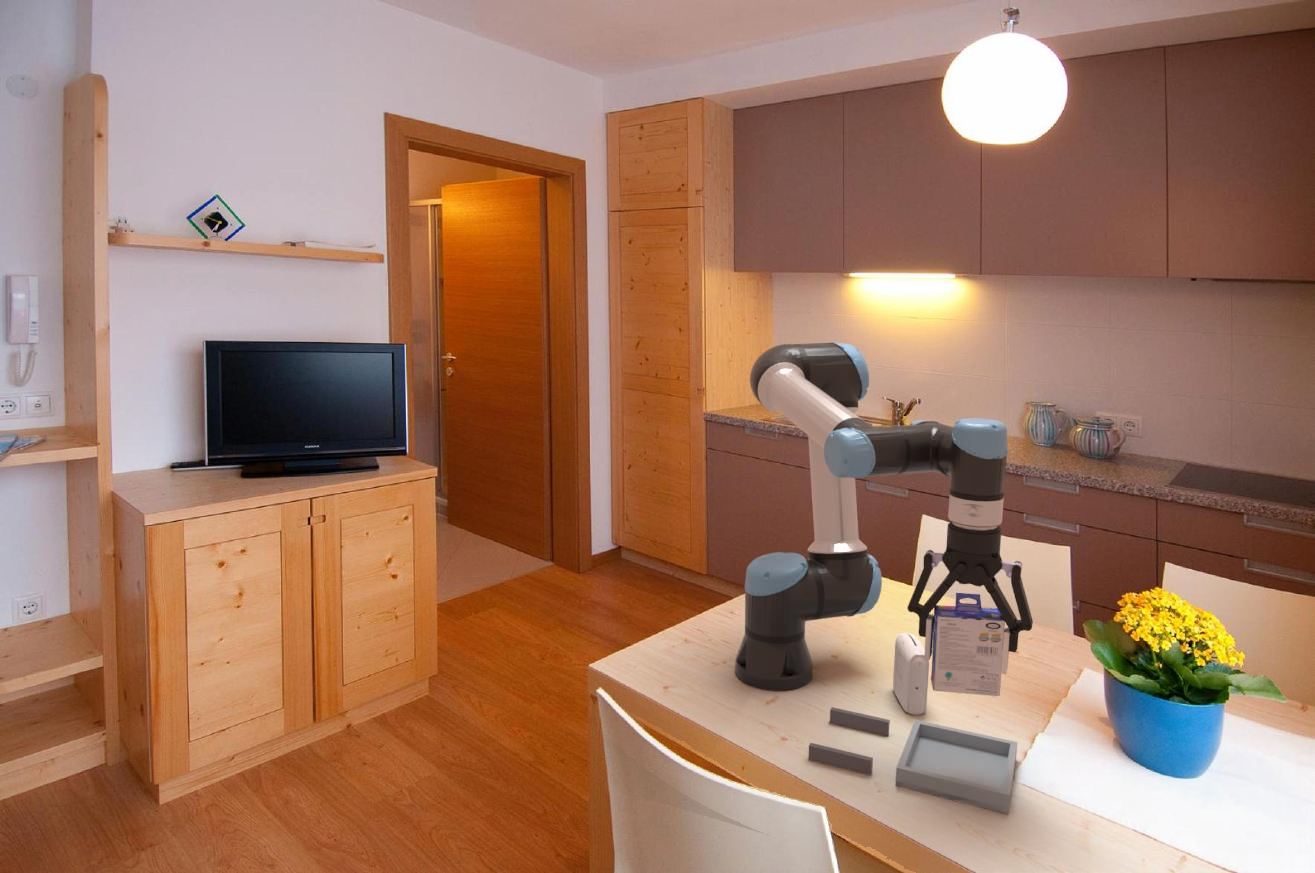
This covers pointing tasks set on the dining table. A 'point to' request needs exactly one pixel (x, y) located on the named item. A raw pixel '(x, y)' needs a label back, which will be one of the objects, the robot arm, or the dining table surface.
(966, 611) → the ink cartridge box
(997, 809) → the tray
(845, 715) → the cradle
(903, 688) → the photo printer
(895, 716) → the dining table surface
